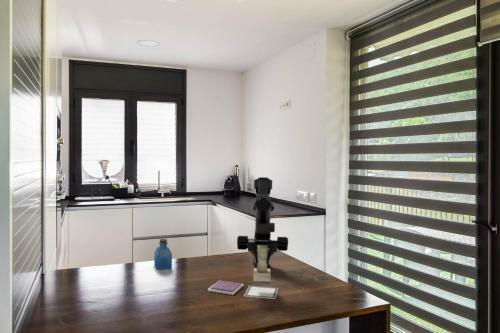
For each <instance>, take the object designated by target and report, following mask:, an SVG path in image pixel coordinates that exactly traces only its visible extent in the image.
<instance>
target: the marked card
mask: <svg viewBox="0 0 500 333" xmlns="http://www.w3.org/2000/svg"><path fill="white" fill-rule="evenodd" d="M278 291H279V287H274V286H262V285H248V288H247V289H246V291H245V293H244V294H243V297H249V298H259V299H270V300H271V299H272V300H276V297H277V293H278Z"/></svg>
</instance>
